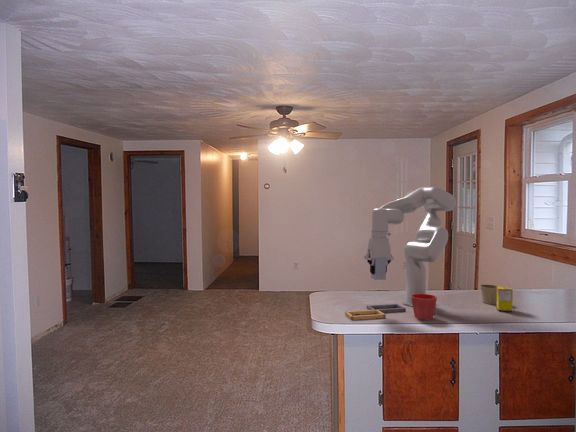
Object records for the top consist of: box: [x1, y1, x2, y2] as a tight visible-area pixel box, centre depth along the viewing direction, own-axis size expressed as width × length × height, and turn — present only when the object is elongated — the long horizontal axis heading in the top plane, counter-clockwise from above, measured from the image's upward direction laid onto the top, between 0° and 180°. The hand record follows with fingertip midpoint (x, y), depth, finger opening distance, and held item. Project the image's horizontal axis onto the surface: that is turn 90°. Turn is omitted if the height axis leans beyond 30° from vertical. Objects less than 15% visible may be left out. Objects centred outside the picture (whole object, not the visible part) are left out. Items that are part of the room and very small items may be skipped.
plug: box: [370, 258, 387, 281], centre depth 186 cm, size 5×5×11 cm
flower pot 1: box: [411, 293, 438, 321], centre depth 178 cm, size 11×11×10 cm
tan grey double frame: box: [344, 303, 407, 321], centre depth 185 cm, size 30×16×2 cm, turn 102°
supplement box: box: [496, 285, 514, 313], centre depth 189 cm, size 6×6×11 cm
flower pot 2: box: [478, 283, 498, 305], centre depth 204 cm, size 9×9×9 cm
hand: (378, 273), depth 186 cm, fingers closed on plug, 5 cm apart
